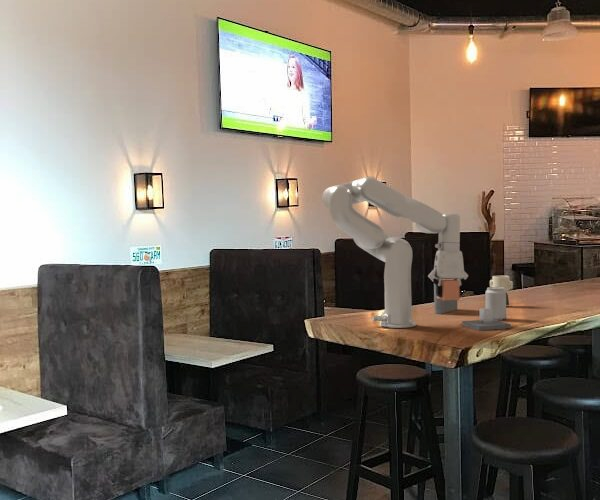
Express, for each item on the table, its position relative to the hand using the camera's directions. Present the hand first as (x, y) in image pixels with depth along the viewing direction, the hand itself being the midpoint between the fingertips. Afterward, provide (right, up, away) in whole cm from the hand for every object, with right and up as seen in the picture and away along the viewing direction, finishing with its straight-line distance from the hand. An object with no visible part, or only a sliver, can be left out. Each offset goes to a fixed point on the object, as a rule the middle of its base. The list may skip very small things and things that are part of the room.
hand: (447, 296), depth 236 cm
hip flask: (+6, -9, +29) cm, 31 cm away
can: (+19, -9, +6) cm, 22 cm away
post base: (+11, -10, -10) cm, 18 cm away
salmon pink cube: (0, -1, 0) cm, 1 cm away
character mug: (+32, -7, +40) cm, 51 cm away
